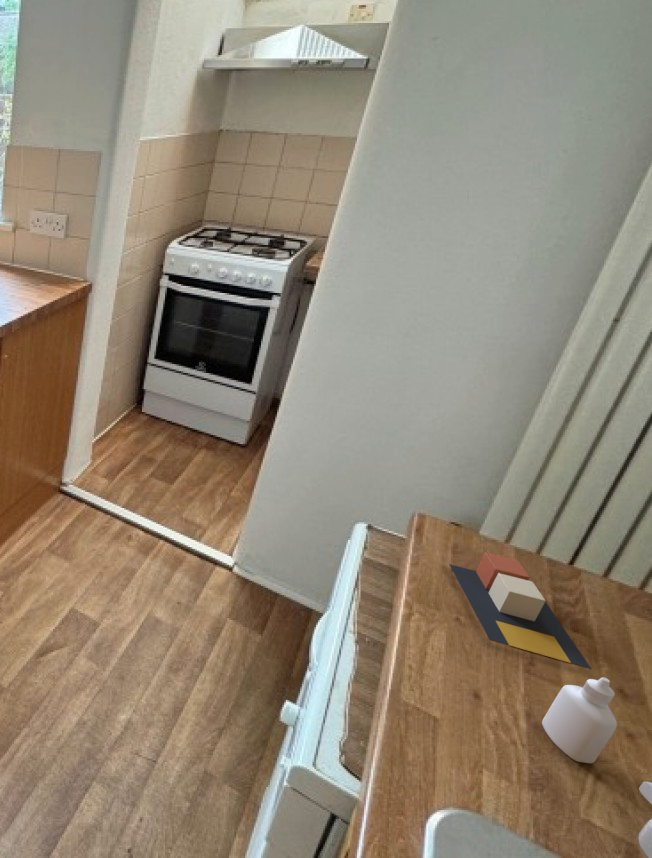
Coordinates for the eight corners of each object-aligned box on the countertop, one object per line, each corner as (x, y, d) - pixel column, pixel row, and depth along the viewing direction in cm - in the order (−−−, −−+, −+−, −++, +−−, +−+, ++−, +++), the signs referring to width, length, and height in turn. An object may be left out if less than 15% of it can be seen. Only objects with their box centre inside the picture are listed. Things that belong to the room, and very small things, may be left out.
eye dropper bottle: (584, 736, 81) (624, 673, 76) (594, 771, 77) (638, 706, 72) (539, 717, 83) (575, 654, 79) (547, 749, 79) (586, 686, 75)
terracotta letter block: (507, 579, 106) (517, 559, 105) (519, 597, 102) (529, 577, 101) (475, 571, 108) (484, 551, 106) (485, 588, 104) (495, 568, 103)
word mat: (533, 588, 105) (535, 585, 105) (590, 672, 90) (592, 669, 90) (447, 566, 110) (449, 563, 110) (488, 642, 95) (490, 639, 94)
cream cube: (522, 601, 102) (532, 581, 100) (534, 621, 98) (545, 600, 96) (488, 592, 103) (498, 572, 102) (499, 611, 100) (509, 591, 98)
